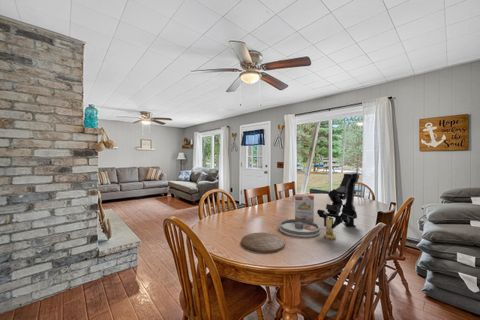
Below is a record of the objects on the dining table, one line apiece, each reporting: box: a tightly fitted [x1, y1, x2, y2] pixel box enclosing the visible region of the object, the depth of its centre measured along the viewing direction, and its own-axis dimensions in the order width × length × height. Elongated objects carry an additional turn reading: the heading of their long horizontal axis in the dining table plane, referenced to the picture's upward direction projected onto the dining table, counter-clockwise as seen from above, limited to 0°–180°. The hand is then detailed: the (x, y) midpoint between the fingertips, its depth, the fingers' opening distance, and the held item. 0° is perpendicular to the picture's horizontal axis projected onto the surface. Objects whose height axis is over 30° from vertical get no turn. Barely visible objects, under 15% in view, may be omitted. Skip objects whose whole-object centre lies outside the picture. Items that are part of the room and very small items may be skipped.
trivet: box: [241, 232, 286, 254], centre depth 118 cm, size 25×25×2 cm
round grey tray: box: [278, 218, 321, 238], centre depth 141 cm, size 27×27×4 cm
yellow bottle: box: [323, 216, 337, 240], centre depth 127 cm, size 7×7×12 cm
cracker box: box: [294, 193, 315, 223], centre depth 159 cm, size 14×6×21 cm, turn 73°
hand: (328, 227), depth 126 cm, fingers open, 5 cm apart
